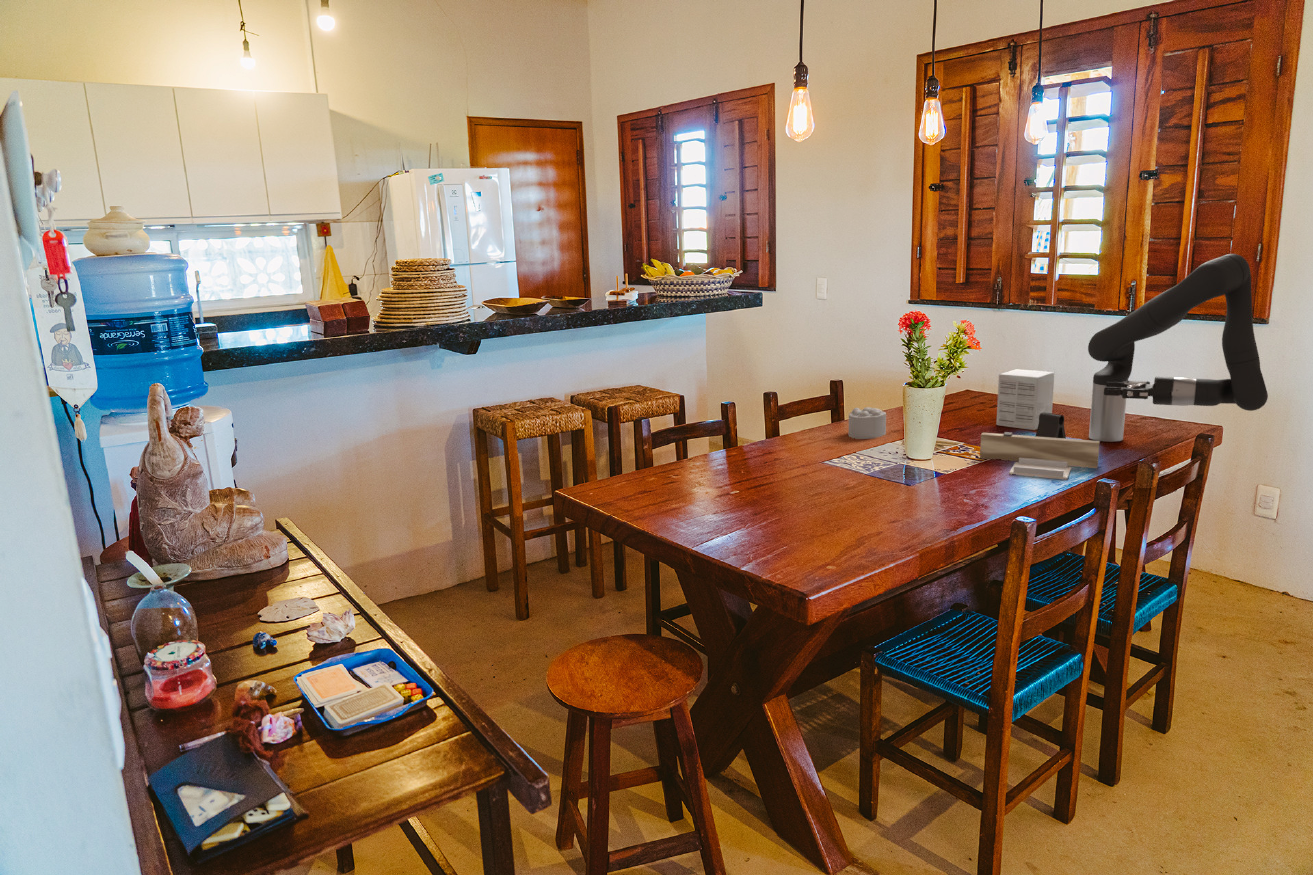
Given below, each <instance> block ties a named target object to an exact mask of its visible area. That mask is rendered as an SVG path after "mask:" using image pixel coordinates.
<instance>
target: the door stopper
mask: <svg viewBox="0 0 1313 875" xmlns="http://www.w3.org/2000/svg"><path fill="white" fill-rule="evenodd" d="M1035 436H1036V437H1050V438H1064V439H1067V437H1066V430H1065V416H1064V415H1063V414H1060V413H1059V414H1057V413H1053V412H1052V413H1046V412H1043V413H1040V415H1039V424H1038V428H1037V429H1036V432H1035Z"/></svg>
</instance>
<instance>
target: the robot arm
mask: <svg viewBox="0 0 1313 875" xmlns="http://www.w3.org/2000/svg"><path fill="white" fill-rule="evenodd" d="M1221 296H1224V298H1225V301H1226V302H1225V303H1226V316H1225V322H1224V324H1223V325H1224V326H1223V330H1222V337H1221V347H1222V352H1223V356H1224V360H1225V365H1226V369H1227V371H1228V373H1229V378H1225V379H1224V378H1223V379H1211V378H1193V377H1192V378H1191V377H1185V376H1184V377H1183V376H1181V377H1180V376H1177V377H1176V376H1155V377H1154V381H1153V384H1152V383H1151V382H1150V381H1148V380H1147V381H1143V380H1139V381H1138V380H1129V378H1130V377H1131V374H1132V369H1133V364H1134V357H1135V347H1136V344H1135V342H1139V341H1141V340H1145V339H1148V338H1152V337H1155V336H1158V335H1159V334H1163V333H1164V332H1166V331H1168V330H1169V329H1171V328H1172V327H1174V326H1176V325H1177V324H1179V323H1180V322H1182V320H1184V319H1185V317H1186V316H1187V315H1188V313H1189V312H1190V311H1191V310H1192V309H1194V308H1195V307H1198V306H1200V305H1201V304H1203V303H1206V302H1207V301H1210V300H1213V299H1214V298H1219V297H1221ZM1253 323H1254V322H1253V300H1252V273H1251V269H1250V265H1249V262H1248V261H1247V260H1246V258H1245V257H1243V256H1242V255H1239V254H1236V253H1228V254H1225V255H1224V254H1223V255H1222V256H1219V257H1217V258H1213V259H1211V260H1208V261H1206V262H1204V263H1202V264H1200V265H1199V266H1198V267H1197V268H1195V269H1194V270H1193V271H1191V273H1190V274H1188V275H1187V276H1186V277H1185V278H1184V279H1182V280H1181V281H1180V282H1178V284H1177V283H1176V285H1174V286H1173V287H1170V288H1169V289H1166V290H1165V291H1163V292H1161V293H1159V294H1158V295H1156V296H1154V297H1153V298H1151V299H1150V300H1148V301H1147V302H1145V303H1144V304H1142V305H1141V306H1140V307H1138V308H1137V309H1135V310H1134V311H1132V312H1130V313H1129V314H1128V315H1126V316H1125V317H1123V318H1121V319H1120V320H1119V321H1117V322H1116V323H1113V324H1112V325H1109V326H1107V327H1105V328H1103V329H1101V330H1099V331H1097V332H1096V333H1095V334H1093V336H1091V339H1090V340H1089V341H1088V342H1089V343H1088V346H1087V351H1088V355H1089V356H1090V357H1091V358H1092V359H1093V360H1095V361H1097V362H1107V364H1106V365H1105V367H1103V368H1102V369H1100V370H1099V371H1097V372H1095V373H1094V374H1093V377H1092V378H1093V379H1092V391H1091V392H1092V394H1091V403H1090V420H1089V428H1088V429H1089V431H1088V438H1089V439H1090V440H1092V441H1100V442H1110V443H1113V442H1121V441H1123V440H1124V430H1125V420H1126V419H1125V418H1126V407H1127V399H1132V400H1133V399H1138V400H1148V399H1149V397H1152V404H1153V405H1160V406H1161V405H1162V406H1179V407H1184V406H1185V407H1186V406H1187V407H1188V406H1203V407H1216V406H1218V405H1220V404H1233V405H1234V404H1235V405H1237V407H1239V408H1240V409H1242V410H1244V411H1250V412H1252V411H1258V410H1260V409H1261V408H1263V407H1264V406H1265V405H1266V404H1267V402H1268V399H1269V398H1268V397H1269V394H1268V391H1267V386H1266V383H1265V380H1264V376H1263V373H1262V371H1261V362H1260V356H1259V352H1258V351H1259V350H1258V346H1257V342H1256V336H1255V331H1254V324H1253Z"/></svg>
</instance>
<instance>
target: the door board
mask: <svg viewBox="0 0 1313 875" xmlns="http://www.w3.org/2000/svg"><path fill="white" fill-rule="evenodd" d="M1100 442H1101V441H1097V440H1092V439H1090V440H1089V439H1088V440H1087V439H1078V438H1077V439H1075V438H1066V439H1064V438H1050V437H1036V436H1034V435H1033V436H1032V435H1021V434H1020V435H1019V434H1013V432H1008V431H1004V433H992V432H982V433H981V434H980V447H979V448H980V450H979V451H980V452H979V459H984V460H985V459H987V460H996V459H1001V460H1000V461H1008V460H1009V462H1019V458H1031V459H1043V460H1055V461H1067V467H1075V468H1076V467H1077V468H1080V467H1081V468H1087V469H1089V468H1091V469H1098V465H1099V455H1100Z"/></svg>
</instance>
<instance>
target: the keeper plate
mask: <svg viewBox="0 0 1313 875" xmlns="http://www.w3.org/2000/svg"><path fill="white" fill-rule="evenodd" d="M1071 471H1072V466H1067V461H1055V460H1043V459H1031V458H1019V461H1014V463H1013V466H1012V467H1011V469H1010V470H1009V472H1008V474H1009V475H1012V474H1016V475H1015V476H1023V477H1024V476H1025V477H1033V476H1037V477H1036V478H1044V479H1045V478H1047V479H1054V480H1055V479H1056V480H1066V481H1067V480H1068V478H1069V475H1070V474H1071ZM1017 474H1018V475H1017Z"/></svg>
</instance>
